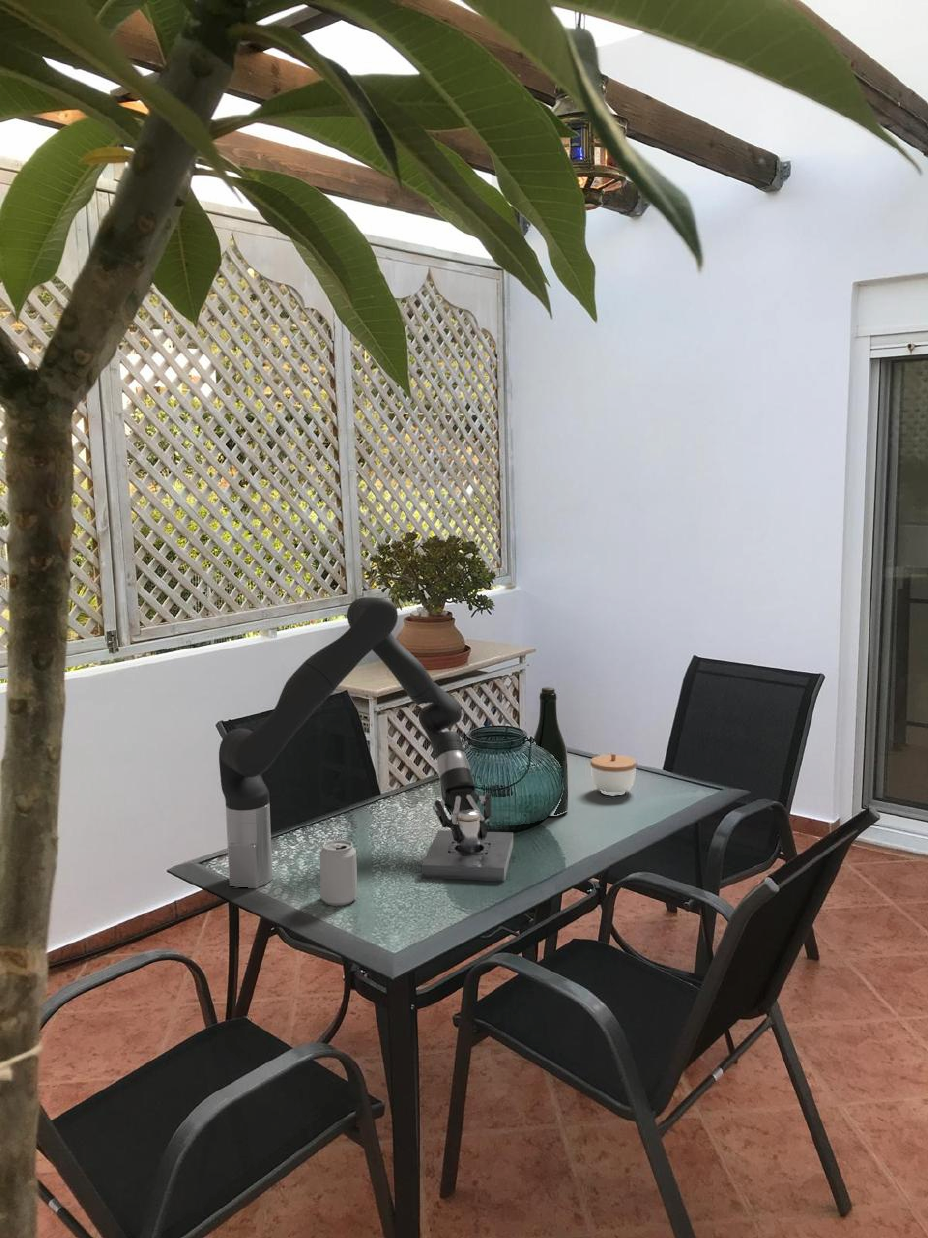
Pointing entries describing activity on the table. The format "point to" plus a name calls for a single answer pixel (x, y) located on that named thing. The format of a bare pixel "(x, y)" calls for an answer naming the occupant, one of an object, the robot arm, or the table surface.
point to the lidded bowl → (613, 772)
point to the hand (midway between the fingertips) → (471, 840)
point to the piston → (469, 830)
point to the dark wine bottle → (552, 739)
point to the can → (338, 872)
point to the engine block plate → (468, 858)
